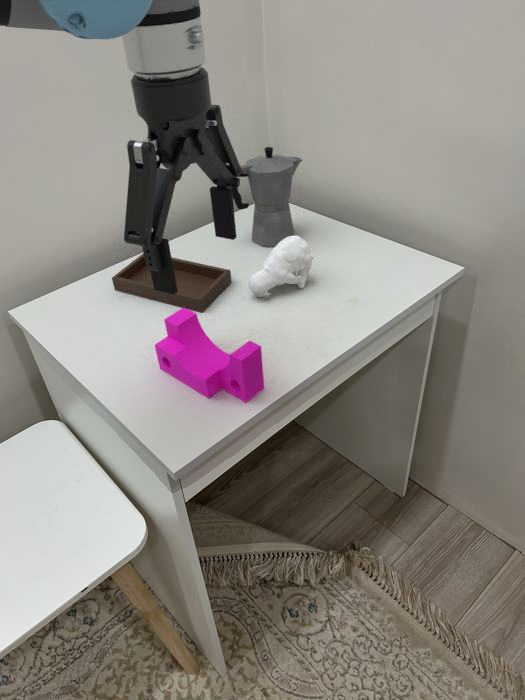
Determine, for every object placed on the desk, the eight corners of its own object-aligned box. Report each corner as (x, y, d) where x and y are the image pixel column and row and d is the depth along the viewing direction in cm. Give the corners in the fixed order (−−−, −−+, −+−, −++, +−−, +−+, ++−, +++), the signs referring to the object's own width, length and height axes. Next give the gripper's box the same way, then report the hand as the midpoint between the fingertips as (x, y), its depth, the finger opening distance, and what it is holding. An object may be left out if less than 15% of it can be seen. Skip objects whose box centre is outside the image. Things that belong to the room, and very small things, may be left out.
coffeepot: (292, 220, 116) (290, 133, 104) (312, 238, 109) (312, 148, 97) (224, 237, 111) (214, 148, 100) (241, 257, 105) (232, 165, 93)
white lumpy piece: (315, 239, 90) (257, 269, 86) (318, 281, 96) (264, 311, 92) (291, 226, 94) (235, 254, 90) (296, 267, 100) (243, 296, 96)
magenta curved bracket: (160, 368, 81) (150, 328, 76) (190, 347, 84) (183, 307, 79) (233, 413, 72) (228, 371, 68) (264, 388, 76) (261, 346, 71)
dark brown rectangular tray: (114, 290, 98) (111, 277, 96) (147, 263, 105) (145, 251, 103) (202, 312, 91) (200, 299, 89) (231, 282, 98) (230, 269, 96)
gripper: (117, 110, 43) (164, 326, 56) (261, 44, 60) (271, 222, 73) (47, 103, 46) (107, 310, 59) (203, 42, 63) (223, 214, 76)
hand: (198, 262), depth 66 cm, fingers open, 13 cm apart
